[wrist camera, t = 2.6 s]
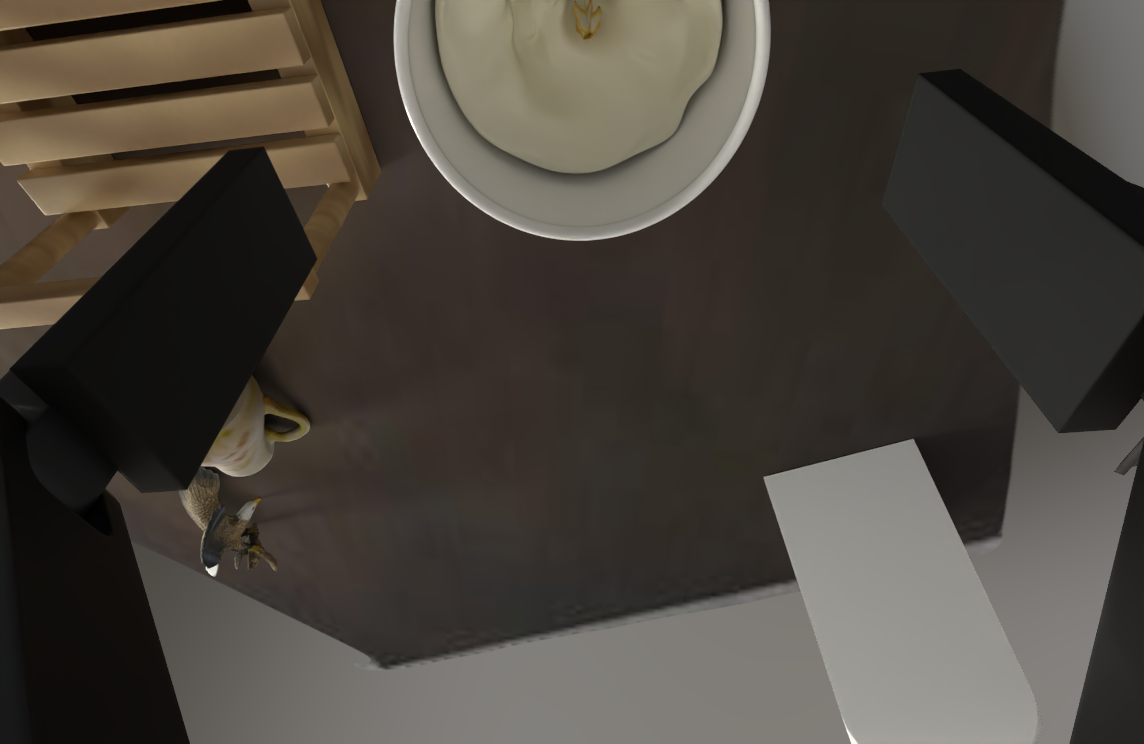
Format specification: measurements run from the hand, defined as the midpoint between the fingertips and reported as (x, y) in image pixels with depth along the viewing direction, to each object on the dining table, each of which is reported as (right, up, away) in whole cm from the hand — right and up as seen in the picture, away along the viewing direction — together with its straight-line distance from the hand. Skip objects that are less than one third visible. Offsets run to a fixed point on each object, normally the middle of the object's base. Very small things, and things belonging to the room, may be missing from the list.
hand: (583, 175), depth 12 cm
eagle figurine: (-29, -15, +38) cm, 50 cm away
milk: (+23, -15, +38) cm, 47 cm away
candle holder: (0, +12, +12) cm, 17 cm away
